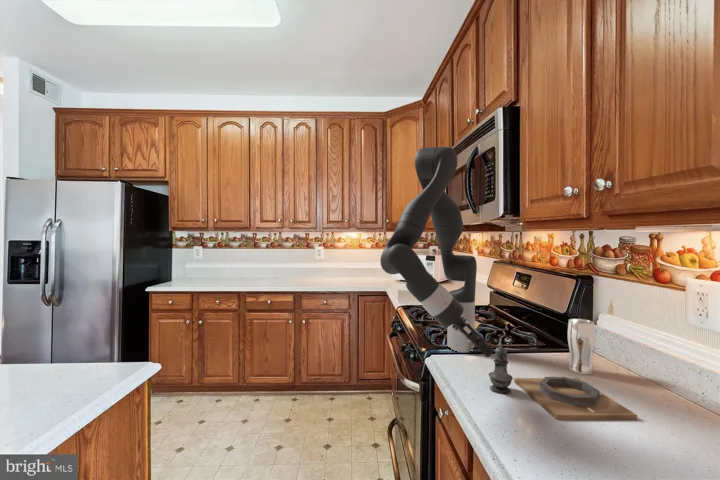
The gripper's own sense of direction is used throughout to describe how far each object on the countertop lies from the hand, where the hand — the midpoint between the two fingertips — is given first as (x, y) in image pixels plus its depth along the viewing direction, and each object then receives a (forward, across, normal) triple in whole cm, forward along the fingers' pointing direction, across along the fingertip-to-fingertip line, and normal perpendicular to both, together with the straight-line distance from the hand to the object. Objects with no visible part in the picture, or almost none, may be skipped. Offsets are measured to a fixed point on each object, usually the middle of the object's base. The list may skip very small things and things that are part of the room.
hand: (483, 348), depth 91 cm
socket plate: (+21, -5, -6) cm, 23 cm away
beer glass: (+32, +13, -17) cm, 38 cm away
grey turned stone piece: (+11, 0, +4) cm, 12 cm away
